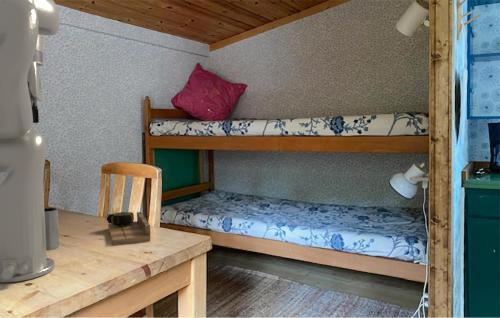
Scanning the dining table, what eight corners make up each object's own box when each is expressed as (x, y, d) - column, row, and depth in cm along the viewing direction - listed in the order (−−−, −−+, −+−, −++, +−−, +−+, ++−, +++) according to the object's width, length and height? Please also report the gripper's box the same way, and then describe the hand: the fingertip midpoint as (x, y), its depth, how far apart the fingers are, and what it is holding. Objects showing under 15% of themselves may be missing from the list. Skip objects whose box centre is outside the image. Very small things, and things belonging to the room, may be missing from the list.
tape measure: (126, 221, 121) (126, 210, 121) (137, 225, 117) (137, 213, 116) (106, 224, 116) (106, 213, 116) (117, 229, 112) (117, 216, 111)
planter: (40, 246, 100) (38, 208, 99) (58, 244, 102) (57, 207, 101) (39, 251, 96) (37, 212, 95) (59, 248, 98) (57, 210, 97)
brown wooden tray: (150, 241, 105) (150, 225, 105) (112, 245, 101) (112, 229, 101) (141, 225, 122) (140, 211, 122) (108, 228, 118) (108, 214, 118)
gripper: (39, 53, 94) (42, 122, 95) (45, 64, 110) (48, 123, 111) (4, 51, 91) (7, 121, 92) (16, 63, 106) (19, 123, 108)
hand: (30, 122), depth 101 cm, fingers open, 9 cm apart
